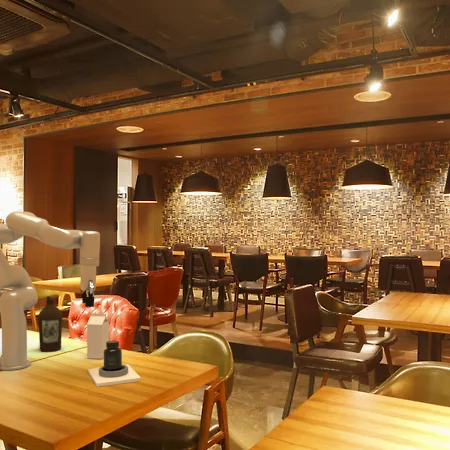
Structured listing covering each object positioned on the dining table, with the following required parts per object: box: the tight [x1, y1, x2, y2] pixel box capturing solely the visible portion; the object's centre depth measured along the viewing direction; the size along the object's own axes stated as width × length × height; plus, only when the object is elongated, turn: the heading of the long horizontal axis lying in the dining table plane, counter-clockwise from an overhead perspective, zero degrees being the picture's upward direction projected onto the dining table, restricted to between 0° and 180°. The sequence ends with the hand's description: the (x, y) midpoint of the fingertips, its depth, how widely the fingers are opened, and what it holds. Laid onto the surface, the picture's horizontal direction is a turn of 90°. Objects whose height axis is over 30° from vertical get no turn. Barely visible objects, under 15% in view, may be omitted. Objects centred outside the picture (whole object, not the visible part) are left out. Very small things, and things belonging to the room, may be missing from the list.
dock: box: [87, 363, 142, 388], centre depth 188 cm, size 16×20×3 cm
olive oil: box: [37, 295, 63, 353], centre depth 231 cm, size 11×11×25 cm
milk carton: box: [86, 313, 110, 360], centre depth 217 cm, size 7×7×19 cm
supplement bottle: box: [103, 339, 123, 371], centre depth 189 cm, size 7×7×12 cm
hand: (87, 304), depth 197 cm, fingers open, 9 cm apart
